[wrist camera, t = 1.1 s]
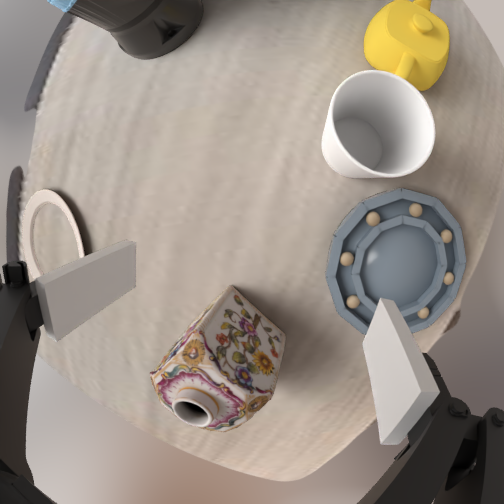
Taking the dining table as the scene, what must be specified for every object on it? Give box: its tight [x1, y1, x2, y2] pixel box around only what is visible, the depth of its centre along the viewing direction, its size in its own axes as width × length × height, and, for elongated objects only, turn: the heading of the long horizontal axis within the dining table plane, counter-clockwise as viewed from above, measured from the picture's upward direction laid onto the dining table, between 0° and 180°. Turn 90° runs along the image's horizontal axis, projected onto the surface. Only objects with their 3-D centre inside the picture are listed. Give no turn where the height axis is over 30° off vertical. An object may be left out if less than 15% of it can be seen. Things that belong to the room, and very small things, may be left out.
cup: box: [322, 70, 435, 178], centre depth 23 cm, size 8×8×16 cm
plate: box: [22, 189, 85, 281], centre depth 46 cm, size 26×26×2 cm
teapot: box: [364, 0, 450, 91], centre depth 20 cm, size 18×11×11 cm, turn 156°
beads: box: [340, 203, 454, 319], centre depth 31 cm, size 17×17×2 cm
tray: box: [325, 188, 466, 335], centre depth 32 cm, size 20×20×3 cm
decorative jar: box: [150, 285, 286, 432], centre depth 32 cm, size 12×12×18 cm
